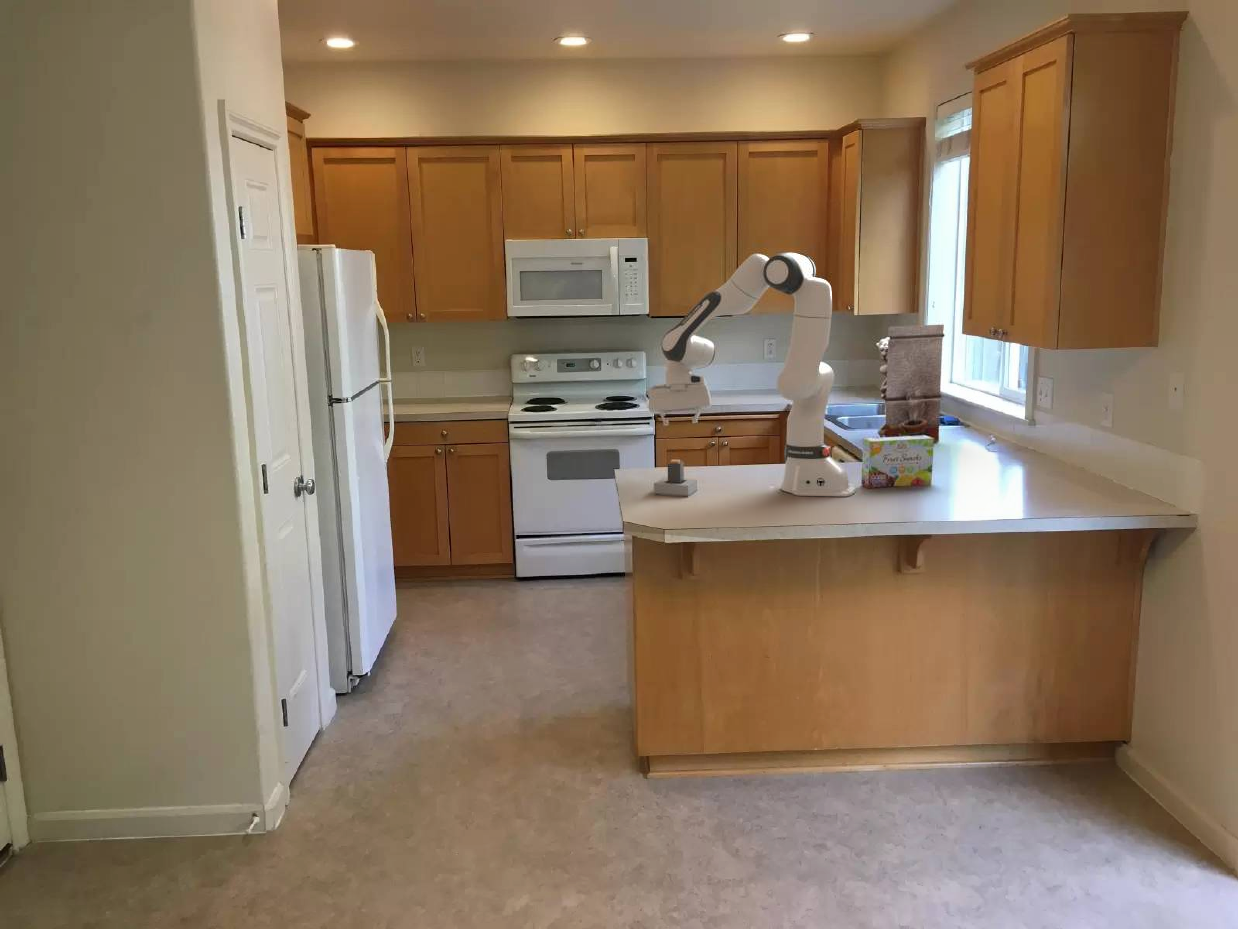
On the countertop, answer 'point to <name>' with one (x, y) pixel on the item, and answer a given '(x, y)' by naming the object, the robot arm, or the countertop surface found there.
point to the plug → (676, 472)
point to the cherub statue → (912, 376)
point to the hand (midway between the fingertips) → (680, 423)
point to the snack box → (897, 461)
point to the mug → (909, 428)
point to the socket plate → (675, 487)
